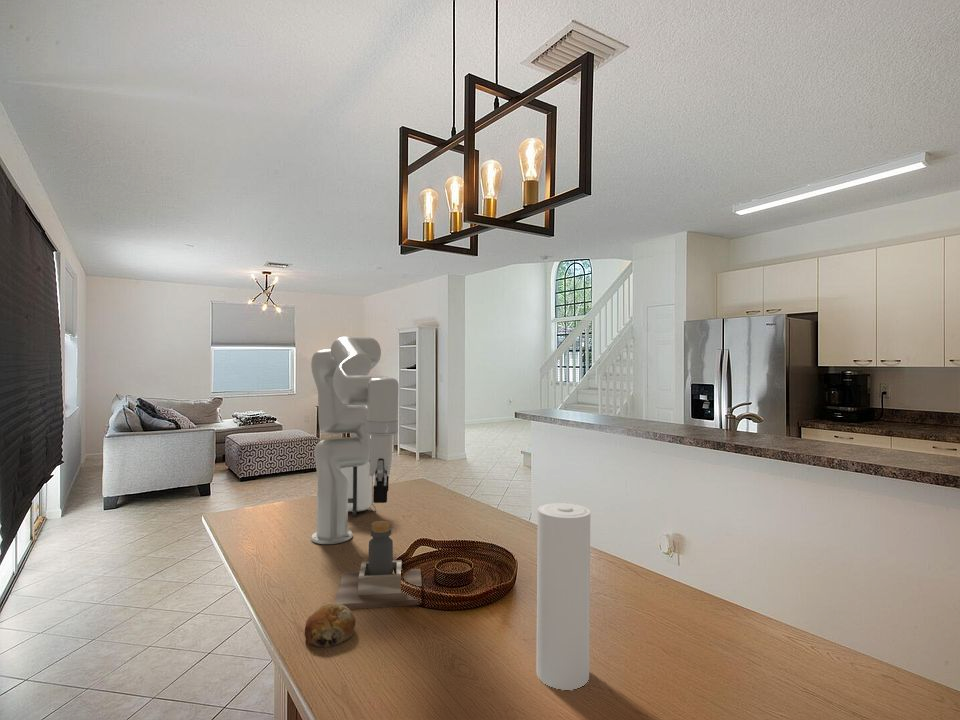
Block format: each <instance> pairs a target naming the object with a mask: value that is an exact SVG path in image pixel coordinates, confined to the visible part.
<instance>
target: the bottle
mask: <svg viewBox="0 0 960 720" xmlns="http://www.w3.org/2000/svg"><path fill="white" fill-rule="evenodd" d="M391 523H392V522H391V521H388V520H376V521H373V522H372V523H371V530H370V537H372V538H371V539H370V540H369V541H368V562H369V565H368V576H371V575H391V574H392V572H393V557H394V556H393V555H394V553H393V552H394V547H393V545H394V542H393V539H392V538H390V536H392V529H391Z"/></svg>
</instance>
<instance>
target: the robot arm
mask: <svg viewBox="0 0 960 720" xmlns="http://www.w3.org/2000/svg"><path fill="white" fill-rule="evenodd" d="M381 356H382V349H381V345H380V343H379V342H378V340H376V339H375V338H374V337H370V336H369V337H368V336H367V337H366V336H363V337H362V336H340V337H338V338H336V339H335V340H334V341H333V342H332V344H331V347H330V348H329V349H321V350H318V351H315V352H314V353H313V355H312V357H311V361H310V362H311V364H310V365H311V367H310V368H311V373H312V377H313V379H314V382H315V386H316V389H317V404H318V405H317V408H318V410H317V412H318V425H319V427H318V428H319V431H320V432H321V433H324V434H327V435H336V434H337V435H338V434H339V435H340V434H354V435H353V436H351V437H349V436H348V437H333V438H325V439H322V440H320V441H319V442H318V443H316V445H315V447H314V451H313V452H314V461H315V462H314V463H315V468H316V531H315V532H314V533H312V534H311V537H310V539H311V541H312V543H313V542H314V544H319V545H320V544H321V545H336V544H341V543H344V542H347V541H349V540H351V539H352V538H353V532H352V530H350V529H348V526H349V525H348V523H349V522H348V520H349V516H348V514H349V511H348V481H347V478H346V477H345V476H344V475H343V474H342V472H341V471H340V469H341V468H345V467H355V466H363V465H366V464H367V463H368V462H369V460H370V467H369V475H370V476H372V475H373V476H374V483H373V484H374V485H373V504H384V503H385V504H386V503H387V502H388V492H389V484H390V483H389V481H390V480H389V479H390V477H389V476H390V474H391V473H390V472H391V468H392V462H393V461H392V460H393V444H394V443H393V439H394V436H395V435H398V434H399V433H398V432H399V428H398V426H399V391H400V390H399V387H400V386H399V382H398V380H397V379H396V378H395V377H394V378H393V377H390V376H389V377H388V376H386V375H369V374H370V372H371V371H372V370H373V369H374V368H375V367H376V366H377V365H378V364H379V362H380V360H381ZM365 405H367V407H366V406H365Z"/></svg>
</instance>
